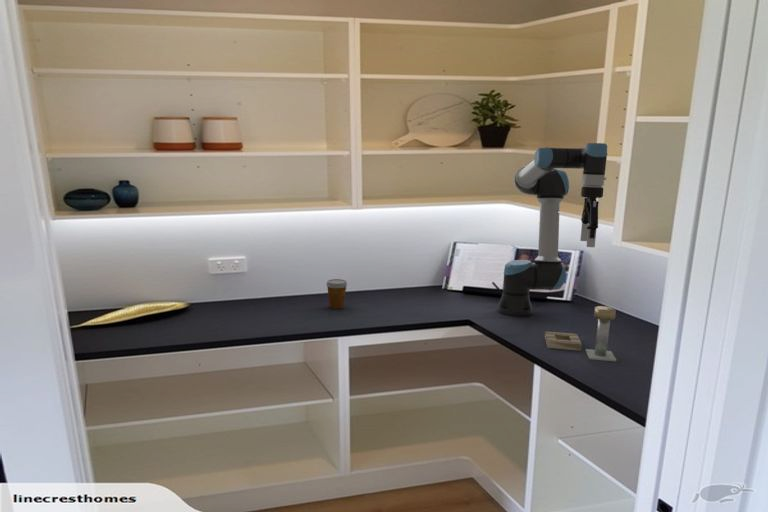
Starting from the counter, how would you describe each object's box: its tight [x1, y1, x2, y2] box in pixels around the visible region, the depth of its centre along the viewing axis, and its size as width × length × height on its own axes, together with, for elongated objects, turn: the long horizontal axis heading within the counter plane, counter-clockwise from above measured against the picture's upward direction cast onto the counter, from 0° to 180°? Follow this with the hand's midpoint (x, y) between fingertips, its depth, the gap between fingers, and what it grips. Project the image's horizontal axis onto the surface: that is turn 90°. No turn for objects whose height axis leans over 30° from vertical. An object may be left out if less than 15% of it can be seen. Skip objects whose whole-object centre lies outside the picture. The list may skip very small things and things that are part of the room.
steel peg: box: [593, 305, 617, 356], centre depth 201 cm, size 7×7×17 cm
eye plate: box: [544, 331, 583, 352], centre depth 214 cm, size 12×12×2 cm
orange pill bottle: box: [326, 278, 348, 310], centre depth 255 cm, size 10×10×12 cm
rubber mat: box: [584, 348, 617, 363], centre depth 203 cm, size 9×9×1 cm
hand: (587, 244), depth 208 cm, fingers open, 13 cm apart
